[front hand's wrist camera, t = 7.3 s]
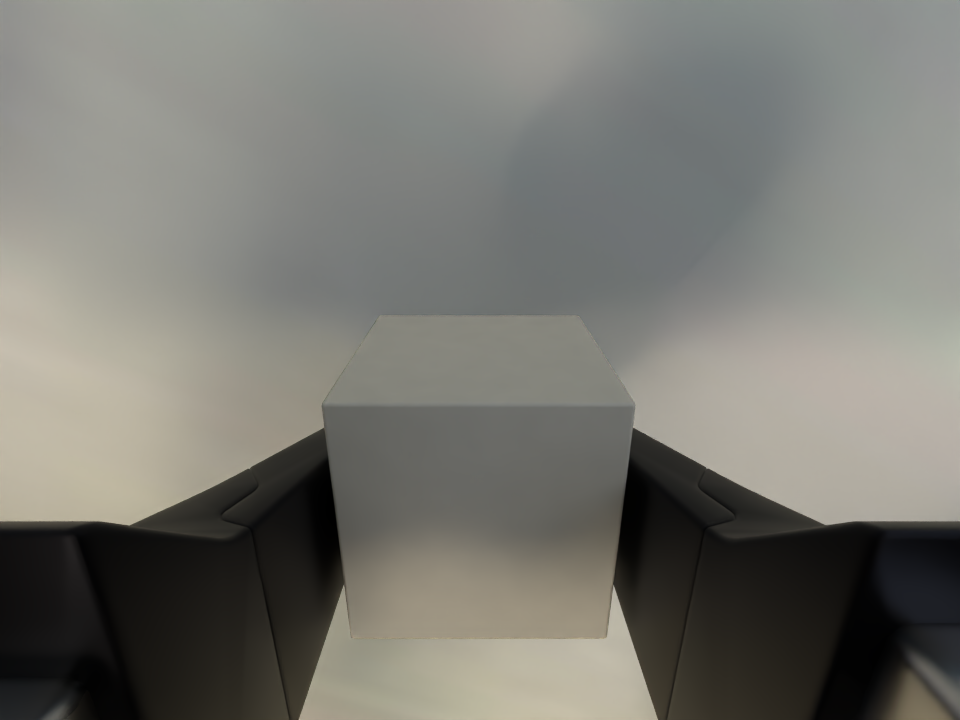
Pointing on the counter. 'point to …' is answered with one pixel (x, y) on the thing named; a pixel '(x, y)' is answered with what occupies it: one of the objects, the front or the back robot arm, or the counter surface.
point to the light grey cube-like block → (478, 478)
